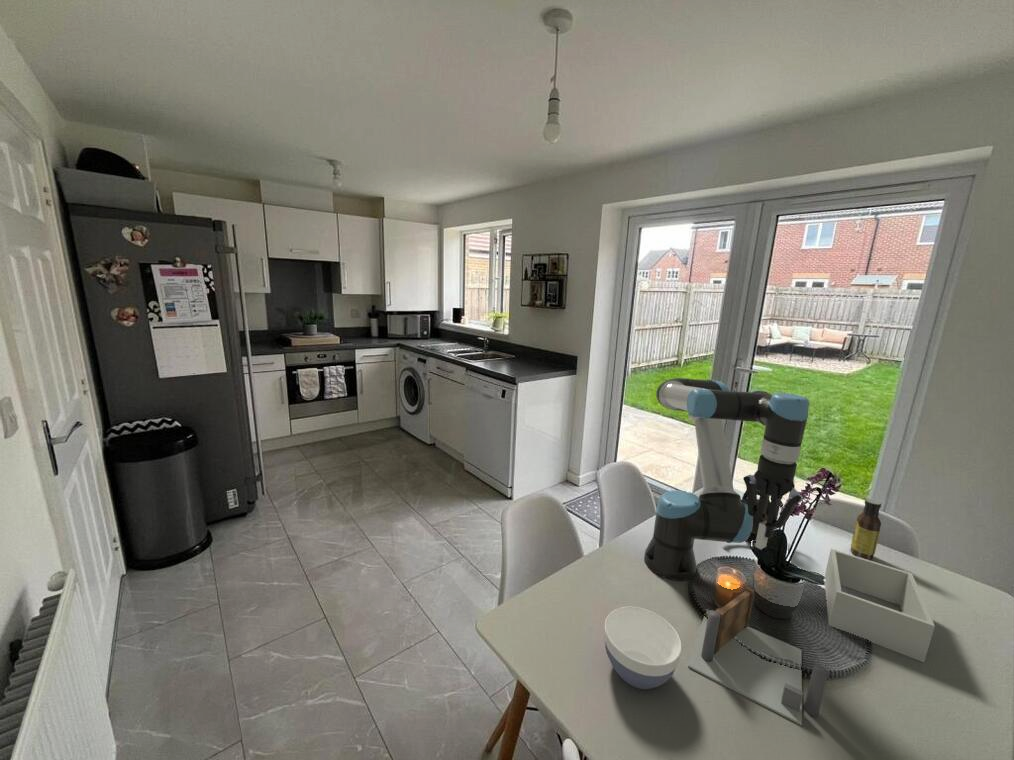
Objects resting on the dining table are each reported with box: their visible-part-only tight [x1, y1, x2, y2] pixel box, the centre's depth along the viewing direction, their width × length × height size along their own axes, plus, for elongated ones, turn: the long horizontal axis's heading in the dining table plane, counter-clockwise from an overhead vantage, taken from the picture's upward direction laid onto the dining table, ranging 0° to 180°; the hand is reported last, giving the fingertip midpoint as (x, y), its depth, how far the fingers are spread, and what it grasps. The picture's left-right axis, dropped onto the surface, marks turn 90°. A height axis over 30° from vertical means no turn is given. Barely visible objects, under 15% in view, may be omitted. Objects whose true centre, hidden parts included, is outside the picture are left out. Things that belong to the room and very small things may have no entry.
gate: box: [714, 585, 756, 654], centre depth 99 cm, size 16×2×10 cm, turn 125°
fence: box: [687, 608, 829, 726], centre depth 93 cm, size 24×22×12 cm
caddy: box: [824, 548, 936, 663], centre depth 111 cm, size 18×24×10 cm
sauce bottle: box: [849, 498, 882, 561], centre depth 138 cm, size 6×6×20 cm
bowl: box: [603, 606, 683, 690], centre depth 90 cm, size 16×16×10 cm
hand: (760, 546), depth 102 cm, fingers closed
